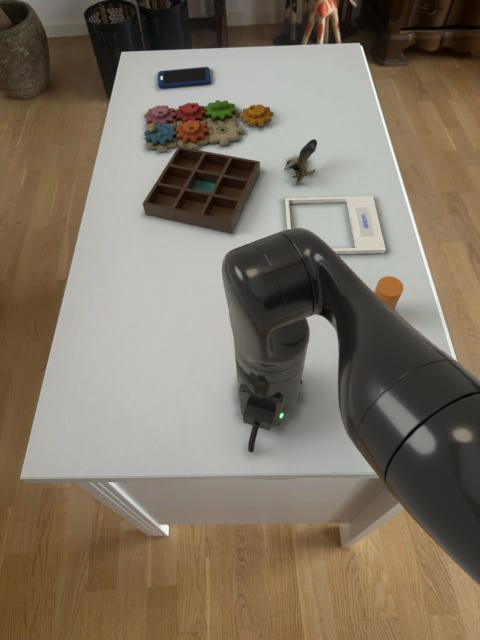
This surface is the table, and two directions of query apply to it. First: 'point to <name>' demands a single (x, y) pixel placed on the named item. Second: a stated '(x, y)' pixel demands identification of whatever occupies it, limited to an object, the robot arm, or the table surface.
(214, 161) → the grid
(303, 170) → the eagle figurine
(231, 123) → the gear puzzle
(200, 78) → the cell phone
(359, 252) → the photo frame
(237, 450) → the table surface
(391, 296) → the orange cylinder
